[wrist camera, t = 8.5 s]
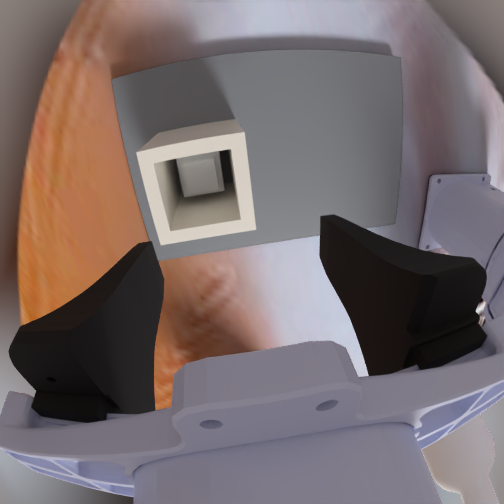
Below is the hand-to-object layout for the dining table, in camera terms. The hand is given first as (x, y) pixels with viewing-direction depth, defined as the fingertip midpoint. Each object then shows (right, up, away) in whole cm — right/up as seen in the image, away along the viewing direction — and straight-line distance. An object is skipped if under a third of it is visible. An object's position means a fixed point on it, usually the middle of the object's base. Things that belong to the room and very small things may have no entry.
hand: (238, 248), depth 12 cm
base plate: (+2, +7, +7) cm, 10 cm away
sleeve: (-3, +6, +6) cm, 9 cm away
